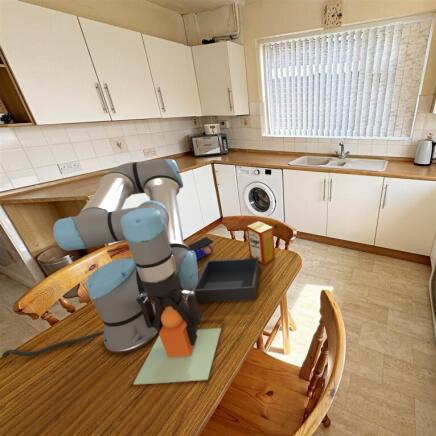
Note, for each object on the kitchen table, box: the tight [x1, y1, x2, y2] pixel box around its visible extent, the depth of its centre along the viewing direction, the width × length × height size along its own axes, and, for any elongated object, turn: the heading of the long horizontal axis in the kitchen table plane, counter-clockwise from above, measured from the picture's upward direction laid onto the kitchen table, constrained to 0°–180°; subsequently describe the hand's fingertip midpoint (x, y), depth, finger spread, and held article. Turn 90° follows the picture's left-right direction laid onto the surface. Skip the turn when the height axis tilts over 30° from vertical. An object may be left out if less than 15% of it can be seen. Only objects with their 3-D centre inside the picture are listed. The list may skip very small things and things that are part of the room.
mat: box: [133, 327, 222, 386], centre depth 66 cm, size 18×18×1 cm
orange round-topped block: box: [158, 306, 197, 357], centre depth 63 cm, size 6×6×14 cm
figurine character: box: [187, 236, 214, 260], centre depth 106 cm, size 7×8×15 cm
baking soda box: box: [245, 220, 276, 265], centre depth 103 cm, size 10×6×16 cm
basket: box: [194, 257, 260, 303], centre depth 89 cm, size 21×18×6 cm
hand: (181, 341), depth 65 cm, fingers closed on orange round-topped block, 6 cm apart
